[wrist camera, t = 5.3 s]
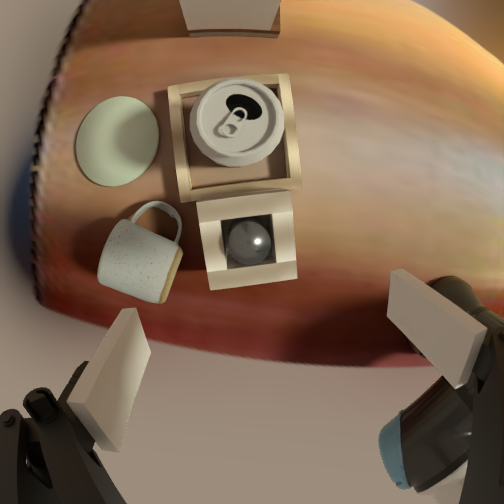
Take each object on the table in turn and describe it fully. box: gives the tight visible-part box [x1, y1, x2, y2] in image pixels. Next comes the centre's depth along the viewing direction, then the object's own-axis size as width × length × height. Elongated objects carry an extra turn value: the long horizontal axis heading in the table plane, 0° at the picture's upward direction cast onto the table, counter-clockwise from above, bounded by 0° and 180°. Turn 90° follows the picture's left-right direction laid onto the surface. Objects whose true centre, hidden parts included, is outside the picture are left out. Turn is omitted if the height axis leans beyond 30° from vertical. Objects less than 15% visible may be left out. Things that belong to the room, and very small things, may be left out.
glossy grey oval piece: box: [228, 216, 271, 265], centre depth 29 cm, size 4×4×5 cm
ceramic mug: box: [97, 201, 183, 304], centre depth 29 cm, size 11×8×8 cm
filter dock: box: [168, 74, 302, 290], centre depth 28 cm, size 22×13×6 cm, turn 7°
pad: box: [76, 96, 160, 186], centre depth 28 cm, size 11×11×1 cm
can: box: [190, 78, 284, 167], centre depth 24 cm, size 8×8×12 cm
